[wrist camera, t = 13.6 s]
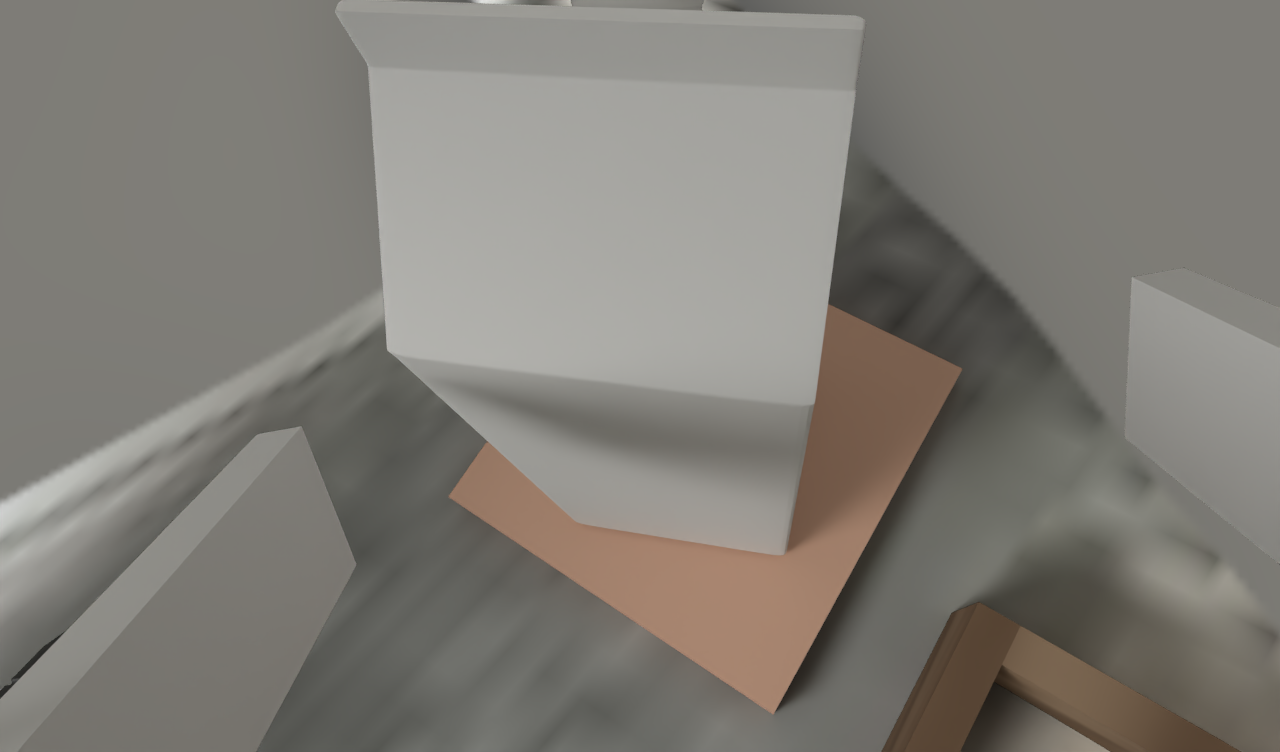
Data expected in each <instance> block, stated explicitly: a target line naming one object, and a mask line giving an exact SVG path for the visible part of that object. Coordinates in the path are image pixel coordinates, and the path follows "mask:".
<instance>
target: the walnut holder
mask: <svg viewBox="0 0 1280 752" xmlns="http://www.w3.org/2000/svg"><path fill="white" fill-rule="evenodd" d="M993 682H995V683H997V684H999V685H1000V686H1002V687H1004V688H1005V689H1007V690H1009V691H1010V692H1012V693H1014V694H1015V695H1017V696H1019V697H1020V698H1022V699H1024V700H1025V701H1027V702H1029V703H1030V704H1032V705H1034V706H1035V707H1037V708H1039V709H1040V710H1042V711H1044V712H1045V713H1047V714H1049V715H1050V716H1052V717H1054V718H1056V719H1057V720H1059V721H1061V722H1062V723H1064V724H1066V725H1067V726H1069V727H1071V728H1072V729H1074V730H1076V731H1077V732H1079V733H1081V734H1082V735H1084V736H1086V737H1087V738H1089V739H1091V740H1092V741H1094V742H1096V743H1097V744H1099V745H1101V746H1102V747H1104V748H1106V749H1107V750H1109V751H1111V752H1241V751H1239V750H1237V749H1236V748H1234V747H1232V746H1230V745H1229V744H1227V743H1225V742H1223V741H1222V740H1220V739H1218V738H1216V737H1215V736H1213V735H1211V734H1209V733H1208V732H1206V731H1204V730H1202V729H1201V728H1199V727H1197V726H1195V725H1194V724H1192V723H1190V722H1188V721H1187V720H1185V719H1183V718H1181V717H1180V716H1178V715H1176V714H1174V713H1173V712H1171V711H1169V710H1167V709H1166V708H1164V707H1162V706H1160V705H1159V704H1157V703H1155V702H1153V701H1152V700H1150V699H1148V698H1146V697H1145V696H1143V695H1141V694H1139V693H1138V692H1136V691H1134V690H1132V689H1131V688H1129V687H1127V686H1125V685H1124V684H1122V683H1120V682H1118V681H1117V680H1115V679H1113V678H1111V677H1110V676H1108V675H1106V674H1104V673H1103V672H1101V671H1099V670H1097V669H1096V668H1094V667H1092V666H1090V665H1089V664H1087V663H1085V662H1083V661H1082V660H1080V659H1078V658H1076V657H1075V656H1073V655H1071V654H1069V653H1068V652H1066V651H1064V650H1062V649H1060V648H1059V647H1057V646H1055V645H1053V644H1052V643H1050V642H1048V641H1046V640H1045V639H1043V638H1041V637H1039V636H1038V635H1036V634H1034V633H1032V632H1031V631H1029V630H1027V629H1025V628H1024V627H1022V626H1020V625H1018V624H1017V623H1015V622H1013V621H1011V620H1010V619H1008V618H1006V617H1004V616H1003V615H1001V614H999V613H997V612H996V611H994V610H992V609H990V608H989V607H987V606H985V605H983V604H982V603H980V602H978V603H975V604H973V605H970V606H968V607H965V608H963V609H961V610H958V611H956V612H953V613H951V615H950V617H949V619H948V621H947V623H946V625H945V627H944V629H943V631H942V633H941V635H940V637H939V639H938V641H937V643H936V645H935V647H934V649H933V651H932V653H931V655H930V657H929V659H928V661H927V663H926V665H925V667H924V669H923V671H922V673H921V675H920V677H919V679H918V681H917V683H916V685H915V687H914V689H913V690H912V692H911V694H910V696H909V698H908V700H907V702H906V704H905V706H904V708H903V710H902V712H901V714H900V716H899V718H898V720H897V722H896V724H895V726H894V728H893V730H892V732H891V734H890V736H889V738H888V740H887V742H886V744H885V746H884V748H883V750H882V752H960V751H961V749H962V747H963V745H964V742H965V740H966V738H967V736H968V734H969V732H970V730H971V728H972V726H973V724H974V722H975V720H976V718H977V715H978V713H979V711H980V709H981V707H982V705H983V703H984V701H985V699H986V697H987V695H988V693H989V691H990V688H991V686H992V684H993Z"/></svg>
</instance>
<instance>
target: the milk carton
mask: <svg viewBox="0 0 1280 752" xmlns="http://www.w3.org/2000/svg"><path fill="white" fill-rule="evenodd" d="M571 3H572V6H544V5H513V4H482V3H450V2H448V3H447V2H419V1H389V0H343V1H341V2H339V3H338V5H337V8H336V11H335V12H336V14H337V16H338V18H339V20H340V21H341V23H342V24H343V26H344V28H345V29H346V31H347V32H348V34H349V35H350V37H351V39H352V40H353V42H354V43H355V45H356V47H357V48H358V50H359V51H360V53H361V55H362V56H363V58H364V59H365V61H366V62H367V64H368V72H369V87H370V102H371V117H372V132H373V147H374V162H375V177H376V192H377V206H378V222H379V236H380V252H381V266H382V282H383V297H384V312H385V327H386V341H387V350H388V352H390V353H391V354H393V355H394V356H395V357H396V358H397V359H398V360H399V361H401V362H402V363H403V364H404V365H405V366H406V367H407V368H408V369H409V370H410V371H411V372H413V373H414V374H415V375H416V376H417V377H418V378H419V379H420V380H421V381H422V382H423V383H425V384H426V385H427V386H428V387H429V388H430V389H431V390H432V391H433V392H434V393H436V394H437V395H438V396H439V397H440V398H441V399H442V400H443V401H444V402H445V403H446V404H448V405H449V406H450V407H451V408H452V409H453V410H454V411H455V412H456V413H457V414H458V415H460V416H461V417H462V418H463V419H464V420H465V421H466V422H467V423H468V424H469V425H470V426H472V427H473V428H474V429H475V430H476V431H477V432H478V433H479V434H480V435H481V436H482V437H484V438H485V439H486V440H487V441H488V442H489V443H490V444H491V445H492V446H493V447H494V448H496V449H497V450H498V451H499V452H500V453H501V454H502V455H503V456H504V457H505V458H506V459H508V460H509V461H510V462H511V463H512V464H513V465H514V466H515V467H516V468H517V469H519V470H520V471H521V472H522V473H523V474H524V475H525V476H526V477H527V478H528V479H529V480H531V481H532V482H533V483H534V484H535V485H536V486H537V487H538V488H539V489H540V490H541V491H543V492H544V493H545V494H546V495H547V496H548V497H549V498H550V499H551V500H552V501H553V502H555V503H556V504H557V505H558V506H559V507H560V508H561V509H562V510H563V511H564V512H565V513H567V514H568V515H569V516H570V517H571V518H572V519H573V520H574V521H576V522H578V523H581V524H585V525H590V526H596V527H602V528H608V529H614V530H620V531H626V532H633V533H639V534H645V535H651V536H657V537H664V538H670V539H676V540H682V541H688V542H695V543H701V544H707V545H713V546H719V547H726V548H732V549H738V550H744V551H750V552H757V553H763V554H770V555H784V554H786V551H787V547H788V541H789V536H790V531H791V526H792V520H793V515H794V510H795V504H796V499H797V494H798V488H799V483H800V478H801V472H802V467H803V462H804V456H805V451H806V446H807V440H808V435H809V430H810V424H811V419H812V414H813V408H814V404H815V399H816V391H817V384H818V376H819V368H820V361H821V353H822V346H823V338H824V330H825V323H826V315H827V308H828V300H829V292H830V285H831V277H832V270H833V262H834V254H835V247H836V239H837V232H838V224H839V216H840V209H841V201H842V194H843V186H844V178H845V171H846V163H847V156H848V148H849V140H850V133H851V125H852V117H853V110H854V102H855V94H856V87H857V81H858V74H859V68H860V62H861V55H862V49H863V43H864V37H865V29H866V21H865V20H864V19H863V18H861V17H859V16H855V15H823V14H792V13H762V12H731V11H702V4H703V0H571Z"/></svg>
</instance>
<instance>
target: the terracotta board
mask: <svg viewBox="0 0 1280 752" xmlns="http://www.w3.org/2000/svg"><path fill="white" fill-rule="evenodd" d="M961 371H962V368H960V367H958V366H956V365H954V364H952V363H950V362H948V361H946V360H944V359H942V358H939V357H937V356H935V355H933V354H931V353H929V352H927V351H925V350H923V349H921V348H919V347H917V346H915V345H912V344H910V343H908V342H906V341H904V340H902V339H900V338H898V337H896V336H894V335H892V334H890V333H888V332H885V331H883V330H881V329H879V328H877V327H875V326H873V325H871V324H869V323H867V322H865V321H863V320H861V319H858V318H856V317H854V316H852V315H850V314H848V313H846V312H844V311H842V310H840V309H838V308H836V307H834V306H831V305H829V304H828V308H827V315H826V323H825V330H824V338H823V346H822V353H821V361H820V368H819V376H818V384H817V391H816V399H815V404H814V408H813V414H812V419H811V424H810V430H809V435H808V440H807V446H806V451H805V456H804V462H803V467H802V472H801V478H800V483H799V488H798V494H797V499H796V504H795V510H794V515H793V520H792V526H791V531H790V536H789V541H788V547H787V551H786V554H784V555H770V554H763V553H757V552H750V551H744V550H738V549H732V548H726V547H719V546H713V545H707V544H701V543H695V542H688V541H682V540H676V539H670V538H664V537H657V536H651V535H645V534H639V533H633V532H626V531H620V530H614V529H608V528H602V527H596V526H590V525H585V524H581V523H578V522H576V521H574V520H573V519H572V518H571V517H570V516H569V515H568V514H567V513H565V512H564V511H563V510H562V509H561V508H560V507H559V506H558V505H557V504H556V503H555V502H553V501H552V500H551V499H550V498H549V497H548V496H547V495H546V494H545V493H544V492H543V491H541V490H540V489H539V488H538V487H537V486H536V485H535V484H534V483H533V482H532V481H531V480H529V479H528V478H527V477H526V476H525V475H524V474H523V473H522V472H521V471H520V470H519V469H517V468H516V467H515V466H514V465H513V464H512V463H511V462H510V461H509V460H508V459H506V458H505V457H504V456H503V455H502V454H501V453H500V452H499V451H498V450H497V449H496V448H494V447H493V446H492V445H491V444H490V443H489V442H488V441H487V442H486V444H485V445H484V446H483V448H482V449H481V451H480V452H479V454H478V455H477V456H476V458H475V459H474V461H473V462H472V464H471V465H470V466H469V468H468V469H467V471H466V472H465V473H464V475H463V476H462V478H461V479H460V481H459V482H458V483H457V485H456V486H455V488H454V489H453V491H452V492H451V493H450V495H449V496H448V497H449V498H451V499H452V500H454V501H455V502H457V503H458V504H460V505H461V506H463V507H464V508H466V509H467V510H469V511H470V512H472V513H473V514H475V515H476V516H478V517H479V518H481V519H482V520H484V521H485V522H487V523H488V524H490V525H491V526H493V527H494V528H496V529H497V530H499V531H500V532H502V533H503V534H505V535H506V536H507V537H509V538H510V539H512V540H513V541H515V542H516V543H518V544H519V545H521V546H522V547H524V548H525V549H527V550H528V551H530V552H531V553H533V554H534V555H536V556H537V557H539V558H540V559H542V560H543V561H545V562H546V563H548V564H549V565H551V566H552V567H554V568H555V569H557V570H558V571H560V572H561V573H563V574H564V575H566V576H567V577H569V578H570V579H572V580H573V581H575V582H576V583H578V584H579V585H581V586H582V587H584V588H585V589H587V590H588V591H590V592H591V593H593V594H594V595H596V596H597V597H599V598H600V599H602V600H603V601H605V602H606V603H608V604H609V605H610V606H612V607H613V608H615V609H616V610H618V611H619V612H621V613H622V614H624V615H625V616H627V617H628V618H630V619H631V620H633V621H634V622H636V623H637V624H639V625H640V626H642V627H643V628H645V629H646V630H648V631H649V632H651V633H652V634H654V635H655V636H657V637H658V638H660V639H661V640H663V641H664V642H666V643H667V644H669V645H670V646H672V647H673V648H675V649H676V650H678V651H679V652H681V653H682V654H684V655H685V656H687V657H688V658H690V659H691V660H693V661H694V662H696V663H697V664H699V665H700V666H702V667H703V668H705V669H706V670H708V671H709V672H710V673H712V674H713V675H715V676H716V677H718V678H719V679H721V680H722V681H724V682H725V683H727V684H728V685H730V686H731V687H733V688H734V689H736V690H737V691H739V692H740V693H742V694H743V695H745V696H746V697H748V698H749V699H751V700H752V701H754V702H755V703H757V704H758V705H760V706H761V707H763V708H764V709H766V710H767V711H769V712H770V713H772V714H774V713H775V711H776V709H777V707H778V705H779V703H780V702H781V700H782V698H783V696H784V694H785V692H786V691H787V689H788V687H789V685H790V683H791V681H792V680H793V678H794V676H795V674H796V672H797V671H798V669H799V667H800V665H801V663H802V661H803V660H804V658H805V656H806V654H807V652H808V650H809V649H810V647H811V645H812V643H813V641H814V639H815V638H816V636H817V634H818V632H819V630H820V628H821V627H822V625H823V623H824V621H825V619H826V618H827V616H828V614H829V612H830V610H831V608H832V607H833V605H834V603H835V601H836V599H837V597H838V596H839V594H840V592H841V590H842V588H843V586H844V585H845V583H846V581H847V579H848V577H849V576H850V574H851V572H852V570H853V568H854V566H855V565H856V563H857V561H858V559H859V557H860V555H861V554H862V552H863V550H864V548H865V546H866V544H867V543H868V541H869V539H870V537H871V535H872V534H873V532H874V530H875V528H876V526H877V524H878V523H879V521H880V519H881V517H882V515H883V513H884V512H885V510H886V508H887V506H888V504H889V502H890V501H891V499H892V497H893V495H894V493H895V492H896V490H897V488H898V486H899V484H900V482H901V481H902V479H903V477H904V475H905V473H906V471H907V470H908V468H909V466H910V464H911V462H912V460H913V459H914V457H915V455H916V453H917V451H918V450H919V448H920V446H921V444H922V442H923V440H924V439H925V437H926V435H927V433H928V431H929V429H930V428H931V426H932V424H933V422H934V420H935V418H936V417H937V415H938V413H939V411H940V409H941V407H942V406H943V404H944V402H945V400H946V398H947V397H948V395H949V393H950V391H951V389H952V387H953V386H954V384H955V382H956V380H957V378H958V376H959V375H960V373H961Z"/></svg>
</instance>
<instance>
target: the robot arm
mask: <svg viewBox="0 0 1280 752" xmlns="http://www.w3.org/2000/svg"><path fill="white" fill-rule="evenodd" d="M1126 394H1127V395H1126V417H1125V438H1126V439H1127V440H1128V441H1129V442H1130V443H1132V444H1133V445H1134V446H1135V447H1137V448H1138V449H1139V450H1140V451H1141V452H1143V453H1144V454H1145V455H1146V456H1148V457H1149V458H1150V459H1151V460H1152V461H1154V462H1155V463H1156V464H1157V465H1158V466H1160V467H1161V468H1162V469H1164V470H1165V471H1166V472H1167V473H1168V474H1170V475H1171V476H1172V477H1173V478H1174V479H1176V480H1177V481H1178V482H1179V483H1181V484H1182V485H1183V486H1184V487H1185V488H1187V489H1188V490H1189V491H1190V492H1191V493H1193V494H1194V495H1195V496H1196V497H1198V498H1199V499H1200V500H1201V501H1202V502H1204V503H1205V504H1206V505H1207V506H1209V507H1210V508H1211V509H1212V510H1213V511H1215V512H1216V513H1217V514H1218V515H1219V516H1221V517H1222V518H1223V519H1224V520H1226V521H1227V522H1228V523H1229V524H1230V525H1232V526H1233V527H1235V529H1237V530H1238V531H1239V532H1240V533H1241V534H1243V535H1244V536H1245V537H1246V538H1248V539H1249V540H1250V541H1251V542H1252V543H1254V544H1255V545H1256V546H1257V547H1259V548H1260V549H1261V550H1262V551H1263V552H1265V553H1266V554H1267V555H1268V556H1270V557H1271V558H1272V559H1273V560H1274V561H1276V562H1277V563H1278V564H1279V565H1280V308H1279V307H1277V306H1275V305H1272V304H1270V303H1267V302H1265V301H1263V300H1260V299H1258V298H1256V297H1253V296H1251V295H1248V294H1246V293H1244V292H1241V291H1239V290H1236V289H1234V288H1232V287H1229V286H1227V285H1224V284H1222V283H1220V282H1217V281H1215V280H1212V279H1210V278H1208V277H1205V276H1203V275H1200V274H1198V273H1196V272H1193V271H1191V270H1189V269H1186V268H1179V269H1173V270H1168V271H1162V272H1157V273H1151V274H1146V275H1140V276H1134V277H1132V279H1131V303H1130V325H1129V347H1128V371H1127V393H1126ZM356 565H357V564H356V562H355V559H354V557H353V554H352V552H351V549H350V547H349V544H348V542H347V539H346V537H345V534H344V532H343V529H342V526H341V524H340V521H339V519H338V516H337V514H336V511H335V509H334V506H333V504H332V501H331V499H330V496H329V494H328V491H327V489H326V486H325V484H324V481H323V478H322V476H321V473H320V471H319V468H318V466H317V463H316V461H315V458H314V456H313V453H312V451H311V448H310V446H309V443H308V441H307V438H306V436H305V433H304V430H303V428H302V426H300V427H294V428H289V429H283V430H277V431H272V432H266V433H261V434H257V435H256V436H255V437H254V438H253V439H252V440H251V441H250V442H249V443H248V444H247V445H246V446H245V447H244V448H243V449H242V450H241V451H240V452H239V453H238V454H237V455H236V456H235V457H234V458H233V459H232V461H231V462H230V463H229V464H228V465H227V466H226V467H225V468H224V469H223V470H222V471H221V472H220V473H219V474H218V475H217V476H216V477H215V478H214V479H213V480H212V481H211V482H210V483H209V484H208V485H207V486H206V487H205V488H204V489H203V490H202V491H201V492H200V494H199V495H198V496H197V497H196V498H195V499H194V500H193V501H192V502H191V503H190V504H189V505H188V506H187V507H186V508H185V509H184V510H183V511H182V512H181V513H180V514H179V515H178V516H177V517H176V518H175V519H174V520H173V521H172V522H171V523H170V524H169V525H168V526H167V528H166V529H165V530H164V531H163V532H162V533H161V534H160V535H159V536H158V537H157V538H156V539H155V540H154V541H153V542H152V543H151V544H150V545H149V546H148V547H147V548H146V549H145V550H144V551H143V552H142V553H141V554H140V555H139V556H138V557H137V558H136V559H135V561H134V562H133V563H132V564H131V565H130V566H129V567H128V568H127V569H126V570H125V571H124V572H123V573H122V574H121V575H120V576H119V577H118V578H117V579H116V580H115V581H114V582H113V583H112V584H111V585H110V586H109V587H108V588H107V589H106V590H105V591H104V592H103V593H102V595H101V596H100V597H99V598H98V599H97V600H96V601H95V602H94V603H93V604H92V605H91V606H90V607H89V608H88V609H87V610H86V611H85V612H84V613H83V614H82V615H81V616H80V617H79V618H78V619H77V620H76V621H75V622H74V623H73V624H72V625H71V626H70V628H69V629H68V630H66V631H65V632H64V633H62V634H61V635H59V636H58V637H57V638H55V639H54V640H52V641H51V642H50V643H48V644H47V645H45V646H44V647H43V648H42V649H41V650H40V651H39V652H38V653H37V654H36V655H35V656H34V657H33V658H32V659H31V660H30V661H29V662H28V663H27V664H26V665H25V666H24V667H23V668H22V669H21V670H20V671H19V672H18V673H17V674H16V675H15V676H14V677H13V678H12V684H11V685H8V686H5V687H4V688H3V689H2V690H1V691H0V752H256V751H257V749H258V747H259V745H260V743H261V742H262V740H263V738H264V736H265V734H266V732H267V730H268V729H269V727H270V725H271V723H272V721H273V719H274V717H275V716H276V714H277V712H278V710H279V708H280V706H281V704H282V703H283V701H284V699H285V697H286V695H287V693H288V691H289V690H290V688H291V686H292V684H293V682H294V680H295V678H296V677H297V675H298V673H299V671H300V669H301V667H302V665H303V664H304V662H305V660H306V658H307V656H308V654H309V652H310V651H311V649H312V647H313V645H314V643H315V641H316V639H317V638H318V636H319V634H320V632H321V630H322V628H323V626H324V625H325V623H326V621H327V619H328V617H329V615H330V614H331V612H332V610H333V608H334V606H335V604H336V602H337V601H338V599H339V597H340V595H341V593H342V591H343V589H344V588H345V586H346V584H347V582H348V580H349V578H350V576H351V575H352V573H353V571H354V569H355V567H356Z"/></svg>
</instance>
